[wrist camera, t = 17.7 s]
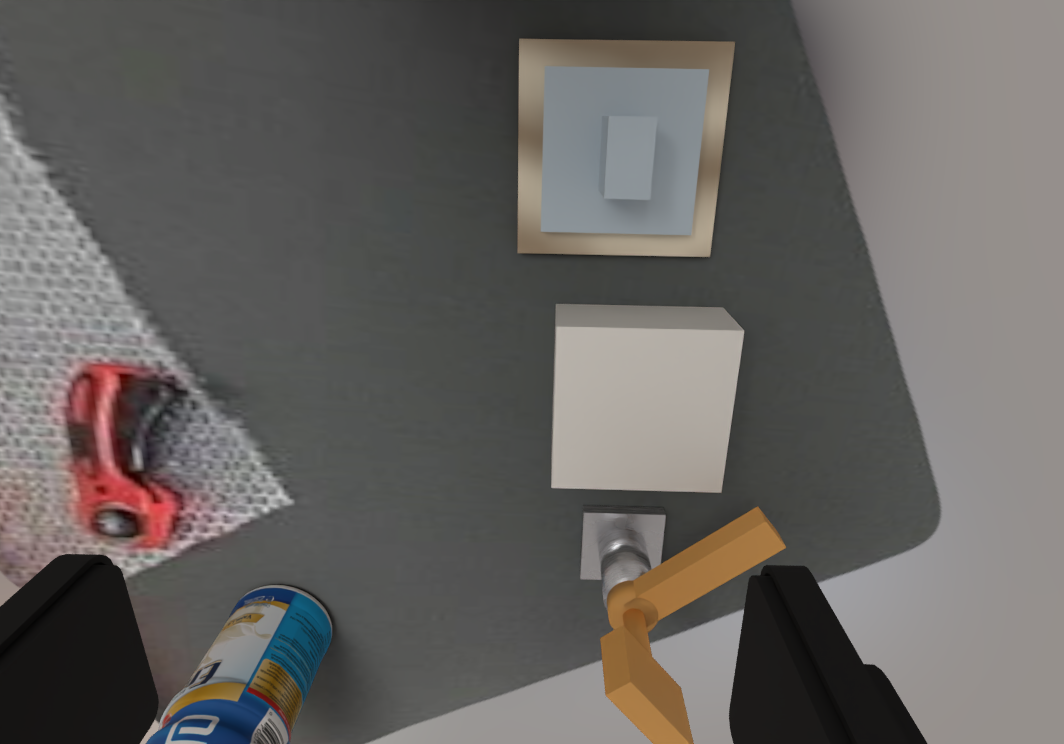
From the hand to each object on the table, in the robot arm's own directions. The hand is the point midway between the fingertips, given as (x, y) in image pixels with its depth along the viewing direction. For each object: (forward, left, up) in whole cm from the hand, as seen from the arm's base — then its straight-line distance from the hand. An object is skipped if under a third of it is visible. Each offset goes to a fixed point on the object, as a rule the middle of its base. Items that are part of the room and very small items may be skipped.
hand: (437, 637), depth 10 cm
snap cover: (-5, +6, -33) cm, 34 cm away
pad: (-5, +6, -34) cm, 35 cm away
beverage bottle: (+32, -19, -34) cm, 50 cm away
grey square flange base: (+23, +8, -34) cm, 41 cm away
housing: (+10, +8, -34) cm, 36 cm away
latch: (+20, +11, -27) cm, 35 cm away
